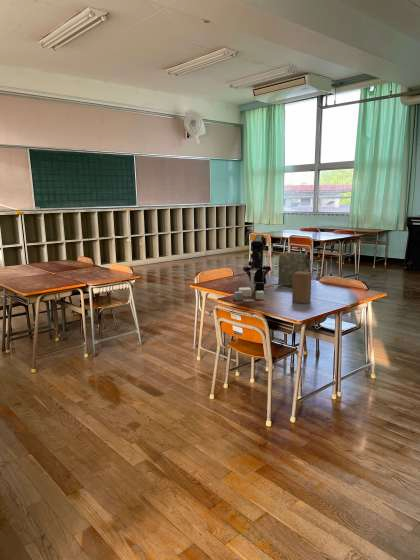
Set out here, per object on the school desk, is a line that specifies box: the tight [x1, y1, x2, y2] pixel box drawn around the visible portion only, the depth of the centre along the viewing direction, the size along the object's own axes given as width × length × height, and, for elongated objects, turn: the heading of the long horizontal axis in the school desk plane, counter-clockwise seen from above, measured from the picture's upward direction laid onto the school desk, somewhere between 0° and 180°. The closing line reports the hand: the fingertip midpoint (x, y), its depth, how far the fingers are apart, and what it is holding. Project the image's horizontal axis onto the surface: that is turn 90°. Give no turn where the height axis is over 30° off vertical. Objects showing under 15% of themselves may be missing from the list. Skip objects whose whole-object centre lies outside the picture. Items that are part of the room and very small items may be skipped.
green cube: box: [255, 291, 265, 300], centre depth 289 cm, size 5×5×5 cm
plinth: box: [238, 286, 253, 297], centre depth 300 cm, size 8×8×5 cm
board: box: [242, 298, 257, 303], centre depth 282 cm, size 8×6×1 cm
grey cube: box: [233, 290, 244, 301], centre depth 288 cm, size 5×5×5 cm
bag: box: [277, 251, 311, 288], centre depth 327 cm, size 22×16×27 cm
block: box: [291, 271, 312, 305], centre depth 277 cm, size 10×10×20 cm
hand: (256, 280), depth 288 cm, fingers open, 9 cm apart
